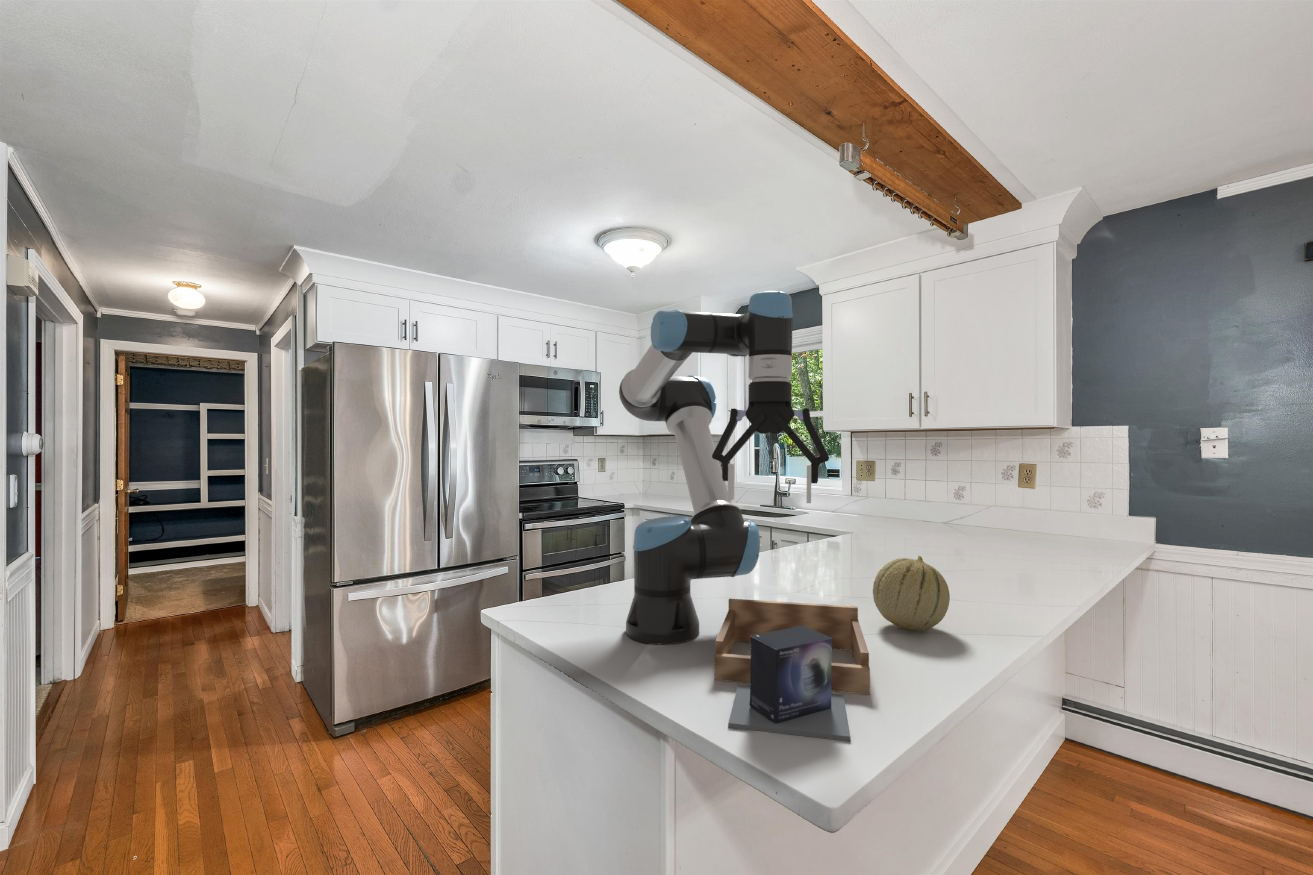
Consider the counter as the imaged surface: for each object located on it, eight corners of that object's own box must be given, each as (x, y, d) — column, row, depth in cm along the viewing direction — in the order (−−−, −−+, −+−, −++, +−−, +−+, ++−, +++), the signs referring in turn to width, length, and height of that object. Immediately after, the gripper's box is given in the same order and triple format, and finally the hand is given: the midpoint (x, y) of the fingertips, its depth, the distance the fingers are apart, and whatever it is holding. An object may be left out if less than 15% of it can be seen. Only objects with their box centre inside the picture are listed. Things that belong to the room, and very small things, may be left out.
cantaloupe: (860, 628, 121) (860, 556, 121) (890, 613, 131) (890, 547, 131) (934, 646, 111) (933, 567, 111) (960, 628, 121) (960, 556, 121)
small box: (776, 726, 79) (776, 648, 79) (747, 706, 84) (747, 634, 85) (834, 708, 84) (833, 636, 84) (803, 691, 89) (802, 623, 89)
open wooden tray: (714, 679, 96) (714, 631, 96) (729, 638, 115) (729, 598, 115) (870, 694, 90) (869, 642, 90) (857, 648, 109) (857, 606, 110)
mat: (728, 727, 80) (728, 722, 80) (738, 687, 92) (738, 684, 92) (850, 741, 76) (850, 736, 76) (843, 698, 88) (843, 694, 88)
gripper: (696, 380, 102) (696, 500, 103) (845, 378, 96) (843, 506, 96) (704, 383, 109) (704, 495, 110) (842, 381, 103) (841, 500, 103)
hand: (769, 501), depth 103 cm, fingers open, 13 cm apart
